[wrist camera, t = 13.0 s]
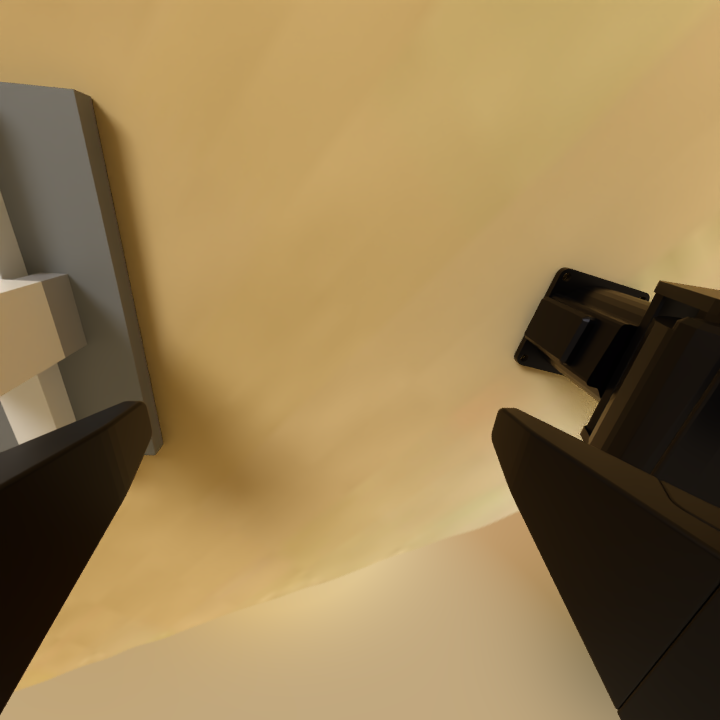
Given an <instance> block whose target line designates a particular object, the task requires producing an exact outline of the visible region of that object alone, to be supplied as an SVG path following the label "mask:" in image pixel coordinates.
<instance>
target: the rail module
mask: <svg viewBox="0 0 720 720" xmlns="http://www.w3.org/2000/svg"><path fill="white" fill-rule="evenodd" d="M86 345H87V341H86V338H85V334H84V331H83V327H82V324H81V320H80V317H79V313H78V310H77V306H76V303H75V299H74V295H73V292H72V288H71V285H70V281H69V278H68V274H61V273H43V272H40V273H36V274H32V275H28V276H24V277H20V278H17V279H13V280H4V279H0V397H1V396H2V395H4V394H6V393H7V392H9V391H11V390H12V389H14V388H16V387H17V386H19V385H21V384H22V383H24V382H26V381H27V380H29V379H31V378H32V377H34V376H36V375H37V374H39V373H41V372H42V371H44V370H46V369H47V368H49V367H51V366H52V365H54V364H56V363H57V362H59V361H61V360H62V359H64V358H66V357H67V356H69V355H71V354H72V353H74V352H76V351H77V350H79V349H81V348H82V347H84V346H86Z"/></svg>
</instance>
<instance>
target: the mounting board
mask: <svg viewBox="0 0 720 720" xmlns="http://www.w3.org/2000/svg"><path fill="white" fill-rule="evenodd" d="M40 272H43V273H61V274H68V278H69V281H70V285H71V288H72V292H73V295H74V299H75V303H76V306H77V310H78V313H79V317H80V320H81V324H82V327H83V331H84V334H85V338H86V341H87V345H86V346H84V347H82V348H81V349H79V350H77V351H76V352H74V353H72V354H71V355H69V356H67V357H66V358H64V359H62V360H61V361H59V362H57V363H56V364H54V365H52V366H51V367H49V368H47V369H46V370H44V371H42V372H41V373H39V374H37V375H36V376H34V377H32V378H31V379H29V380H27V381H26V382H24V383H22V384H21V385H19V386H17V387H16V388H14V389H12V390H11V391H9V392H7V393H6V394H4V395H2V396H1V397H0V452H3V451H5V450H8V449H10V448H12V447H15V446H17V445H20V444H22V443H25V442H27V441H29V440H32V439H34V438H37V437H39V436H41V435H44V434H46V433H49V432H51V431H54V430H56V429H58V428H61V427H63V426H66V425H68V424H70V423H73V422H75V421H78V420H80V419H83V418H85V417H87V416H90V415H92V414H95V413H97V412H99V411H102V410H104V409H107V408H109V407H112V406H114V405H116V404H119V403H121V402H124V401H143V402H144V403H145V404H146V405H147V408H148V413H149V417H150V422H151V426H152V437H151V440H150V443H149V445H148V447H147V449H146V452H145V454H144V455H156V454H157V452H158V451H159V449H160V448H161V446H162V445H163V440H162V435H161V430H160V425H159V421H158V416H157V411H156V406H155V401H154V397H153V392H152V387H151V382H150V377H149V373H148V368H147V363H146V358H145V353H144V349H143V344H142V339H141V334H140V330H139V325H138V320H137V315H136V310H135V306H134V301H133V296H132V291H131V286H130V282H129V277H128V272H127V267H126V262H125V258H124V253H123V248H122V243H121V239H120V234H119V229H118V224H117V219H116V215H115V210H114V205H113V200H112V195H111V191H110V186H109V181H108V176H107V172H106V167H105V162H104V157H103V152H102V148H101V143H100V138H99V133H98V128H97V124H96V119H95V114H94V109H93V104H92V100H91V97H90V96H88V95H86V94H83V93H81V92H78V91H76V90H74V89H65V88H55V87H45V86H36V85H26V84H16V83H6V82H0V279H4V280H13V279H17V278H20V277H24V276H28V275H32V274H36V273H40Z"/></svg>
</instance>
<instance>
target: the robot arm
mask: <svg viewBox="0 0 720 720" xmlns="http://www.w3.org/2000/svg"><path fill="white" fill-rule="evenodd" d="M566 273H567V277H566V278H565V279H564V280H563V276H564V275H565V274H566ZM654 292H655V293H656V294H655V296H654V298H653V300H652V302H649V299H650V296H649V294H647V293H645V292H642V291H639V290H636V289H633V288H629V287H626V286H623V285H620V284H617V283H614V282H611V281H608V280H604V279H601V278H598V277H595V276H592V275H589V274H586V273H582V272H579V271H576V270H573V269H570V268H561V269H560V270H559V271H558V272H557V273H556V275H555V277H554V279H553V281H552V283H551V285H550V286H549V288H548V290H547V292H546V294H545V296H544V298H543V299H542V300H541V302H540V304H539V306H538V308H537V310H536V312H535V314H534V316H533V318H532V320H531V322H530V324H529V326H528V328H527V330H526V332H525V335H524V337H523V339H522V341H521V343H520V345H519V347H518V349H517V351H516V353H515V355H514V359H515V360H516V362H518V363H519V364H521V365H524V366H528V367H532V368H536V369H540V370H544V371H548V372H552V373H556V374H560V375H564V376H566V377H567V378H568V379H570V380H571V381H572V382H573V383H575V384H576V385H577V386H579V387H580V388H581V389H583V390H584V391H585V392H586V393H588V394H589V395H590V396H592V397H593V398H594V399H596V400H597V401H598V402H599V403H598V405H597V407H596V409H595V411H594V413H593V415H592V417H591V419H590V421H589V423H588V425H587V426H584V427H583V429H582V431H581V433H580V435H581V437H582V439H583V441H584V442H583V441H581V440H579V439H577V438H575V437H573V436H571V435H569V434H567V433H565V432H563V431H561V430H559V429H557V428H555V427H553V426H551V425H549V424H547V423H545V422H543V421H541V420H539V419H537V418H535V417H533V416H531V415H529V414H527V413H525V412H523V411H521V410H519V409H516V408H501V409H500V410H499V411H498V413H497V416H496V420H495V423H494V427H493V430H492V443H493V446H494V448H495V451H496V454H497V457H498V459H499V462H500V465H501V468H502V470H503V473H504V476H505V479H506V482H507V484H508V487H509V489H510V492H511V494H512V496H513V498H514V500H515V503H516V505H517V507H518V509H519V511H520V513H521V515H522V517H523V519H524V521H525V523H526V525H527V527H528V529H529V531H530V533H531V535H532V537H533V539H534V542H535V544H536V546H537V548H538V550H539V552H540V554H541V556H542V558H543V560H544V562H545V564H546V566H547V568H548V570H549V572H550V575H551V577H552V578H553V581H554V583H555V585H556V587H557V589H558V591H559V593H560V595H561V597H562V599H563V601H564V603H565V605H566V607H567V609H568V611H569V614H570V616H571V618H572V620H573V622H574V624H575V626H576V628H577V630H578V632H579V634H580V636H581V638H582V640H583V642H584V644H585V646H586V649H587V651H588V653H589V655H590V657H591V659H592V661H593V663H594V665H595V667H596V669H597V671H598V673H599V675H600V677H601V679H602V681H603V683H604V685H605V688H606V690H607V692H608V693H609V696H610V698H611V700H612V702H613V704H614V706H615V708H616V709H618V711H617V712H618V715H619V717H620V719H621V720H720V290H715V289H709V288H703V287H696V286H690V285H684V284H678V283H672V282H666V281H659V282H658V284H657V286H656V288H655V290H654ZM640 297H641V298H640ZM639 298H640V299H639ZM522 355H525V357H524V358H522V359H521V357H522ZM151 437H152V426H151V422H150V417H149V413H148V408H147V405H146V404H145V403H144V402H143V401H124V402H121V403H119V404H116V405H114V406H112V407H109V408H107V409H104V410H102V411H99V412H97V413H95V414H92V415H90V416H87V417H85V418H83V419H80V420H78V421H75V422H73V423H70V424H68V425H66V426H63V427H61V428H58V429H56V430H54V431H51V432H49V433H46V434H44V435H41V436H39V437H37V438H34V439H32V440H29V441H27V442H25V443H22V444H20V445H17V446H15V447H12V448H10V449H8V450H5V451H3V452H0V714H1V713H2V711H3V709H4V707H5V706H6V704H7V702H8V700H9V699H10V697H11V695H12V693H13V692H14V690H15V688H16V687H17V685H18V683H19V681H20V680H21V678H22V676H23V674H24V673H25V671H26V669H27V667H28V666H29V664H30V662H31V660H32V659H33V657H34V655H35V653H36V652H37V650H38V648H39V646H40V645H41V643H42V641H43V639H44V638H45V636H46V634H47V633H48V631H49V629H50V627H51V626H52V624H53V622H54V620H55V619H56V617H57V615H58V613H59V612H60V610H61V608H62V606H63V605H64V603H65V601H66V599H67V598H68V596H69V594H70V592H71V591H72V589H73V587H74V585H75V584H76V582H77V580H78V579H79V577H80V575H81V573H82V572H83V570H84V568H85V566H86V565H87V563H88V561H89V559H90V558H91V556H92V554H93V552H94V551H95V549H96V547H97V545H98V544H99V542H100V540H101V538H102V537H103V535H104V533H105V531H106V530H107V528H108V526H109V525H110V523H111V521H112V519H113V518H114V516H115V514H116V512H117V511H118V509H119V507H120V505H121V504H122V502H123V500H124V498H125V496H126V494H127V492H128V490H129V488H130V486H131V484H132V482H133V479H134V477H135V475H136V472H137V470H138V468H139V465H140V463H141V461H142V459H143V456H144V454H145V452H146V449H147V447H148V445H149V443H150V440H151Z"/></svg>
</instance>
